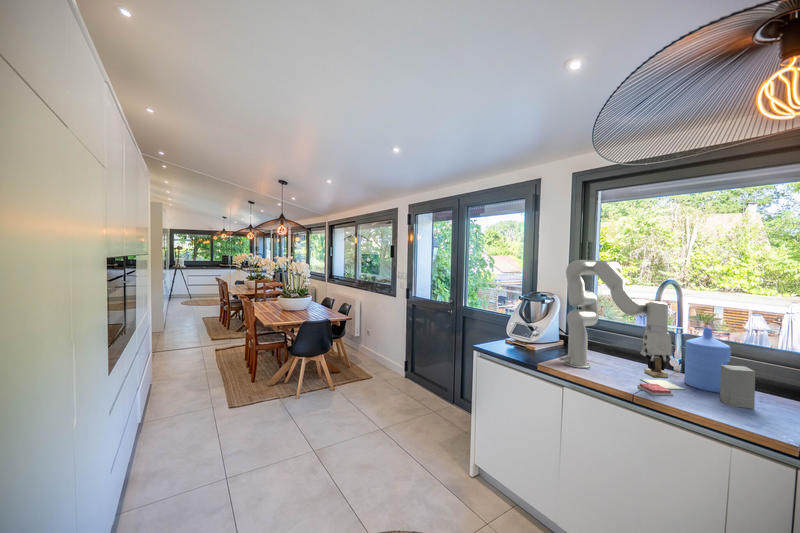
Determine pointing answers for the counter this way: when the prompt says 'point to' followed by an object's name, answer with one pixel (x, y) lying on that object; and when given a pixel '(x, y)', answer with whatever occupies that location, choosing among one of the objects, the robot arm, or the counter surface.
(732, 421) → the counter surface
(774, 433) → the counter surface
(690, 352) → the water jug
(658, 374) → the wooden stamp
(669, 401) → the counter surface
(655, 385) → the ink pad
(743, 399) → the skincare box
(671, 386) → the marked square
